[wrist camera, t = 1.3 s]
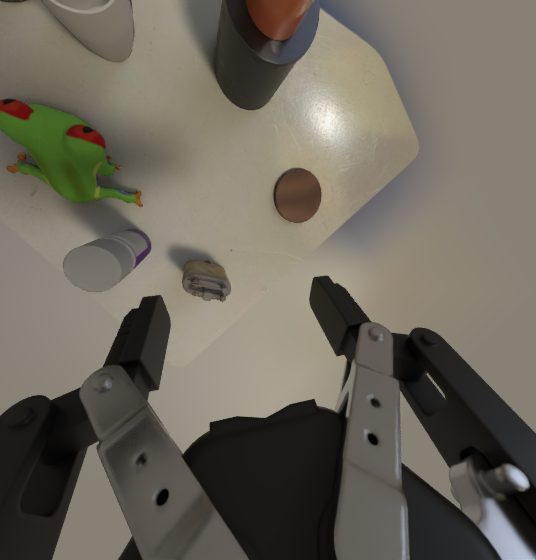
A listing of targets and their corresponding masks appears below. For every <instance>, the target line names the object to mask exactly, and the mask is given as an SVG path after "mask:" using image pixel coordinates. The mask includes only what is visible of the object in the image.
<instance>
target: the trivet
mask: <svg viewBox="0 0 536 560" xmlns="http://www.w3.org/2000/svg"><path fill="white" fill-rule="evenodd" d="M274 199H275V205H276V208H277V210H278V212H279V214H280V215H281V216H282V217H283V218H284V219H286V220H288V221H290V222H295V223H300V222H304V221H307V220H309V219H310V218H311V217H312V216H313V215H314V214H315V213H316V212H317V210H318V208H319V205H320V202H321V188H320V184H319V182H318V180H317V179H316V177H315V176H314V175H313V174H312V173H311V172H309V171H307V170H304V169H295V170H292V171H289V172H287V173H286V174H284V175H283V176H282V177H281V179H280V180H279V182H278V183H277V186H276V189H275V194H274Z"/></svg>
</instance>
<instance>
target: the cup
mask: <svg viewBox="0 0 536 560" xmlns="http://www.w3.org/2000/svg"><path fill="white" fill-rule="evenodd" d="M42 1H43V2H44V3H45V4H46V6H47V7H48V8H49V9H50V10H51V12H52V13H53V14H54V15H55V16H56V18H57V19H58V20H59V21H60V22H61V23H62V24H63V25H64V26H65V27H66V28H67V29H68V30H69V31H70V32H71V33H72V34H73V35H75V36H76V37H77V38H78V39H79V40H80V41H81V42H82V43H83V44H84V45H85V46H86V47H87V48H89V49H90V50H92V51H93V52H95V53H96V54H98V55H99V56H101V57H103V58H104V59H106V60H109V61H112V62H122V61H124V60H126V59H127V58H128V57H129V56H130V54H131V52H132V47H133V41H134V22H133V12H132V3H131V0H42Z"/></svg>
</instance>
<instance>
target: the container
mask: <svg viewBox="0 0 536 560" xmlns="http://www.w3.org/2000/svg"><path fill="white" fill-rule="evenodd" d="M150 250H151V241H150V239H149V238H148V236H147V235H146V234H145V233H143V232H141V231H139V230H136V229H128V230H125V231H121V232H118V233H115V234H112V235H109V236H106V237H103V238H100V239H97V240H95V241H92V242H90V243H87V244H85V245H82V246H80V247H78V248H75V249H73V250H72V251H70V252H69V253H68V254H67V256H66V257H65V259H64V263H63V269H64V273H65V275H66V277H67V278H68V280H69V281H71V283H72V284H74V285H75V286H77V287H78V288H80V289H83V290H86V291H90V292H102V291H106V290H109V289H111V288H113V287H114V286H115V285H116V284H118V283H119V282H120V281H121V280H122V279H123V278H124V277H126V276H127V275H128V274H129V273H130V272H131V271H132V270H133V269H134V268H135V267H136V266H137V265H138V264H139V263H140V262H141V261H142V260H143V259H144V258H145V257H146V256H147V255H148V254H149V252H150Z"/></svg>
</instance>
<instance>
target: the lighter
mask: <svg viewBox="0 0 536 560" xmlns="http://www.w3.org/2000/svg"><path fill="white" fill-rule="evenodd" d="M182 284H183V288H184V289H185V291H186V292H188V293H190V294H192V295H194V296H198V297H202V298H203V300H206V301H210V300H211V299H217V300H219V299H220V301H222V302H223V301H225V299H226V298H225V297H226V296H228V295H229V293H230V291H231V286H230V282H229V280H228V278H227V276H226V273H225V270H224V269H223V268H222V267H221V266H220V265H215V264H211V262H209V261H204V262H202V261H198V260H191V261H189V262H187V263H186V264H185V266H184V274H183V280H182Z"/></svg>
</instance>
